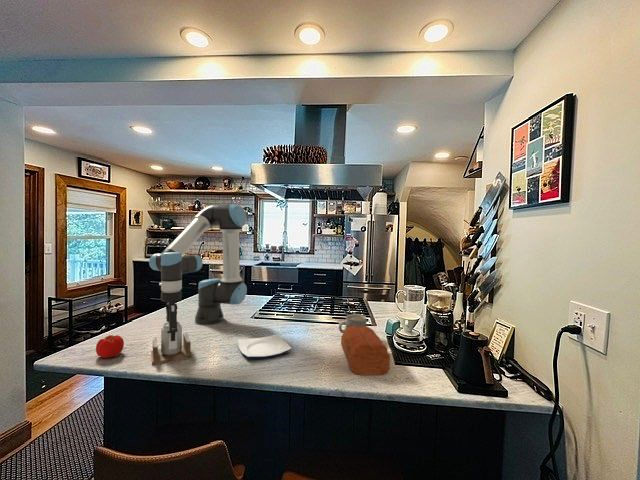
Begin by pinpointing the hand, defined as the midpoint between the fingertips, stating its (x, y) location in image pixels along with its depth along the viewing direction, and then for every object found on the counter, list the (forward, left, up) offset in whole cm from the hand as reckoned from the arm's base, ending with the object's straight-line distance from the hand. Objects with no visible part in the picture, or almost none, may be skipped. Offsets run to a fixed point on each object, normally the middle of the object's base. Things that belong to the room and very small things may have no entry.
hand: (171, 342), depth 120 cm
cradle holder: (0, 0, -5) cm, 5 cm away
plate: (-35, +12, -6) cm, 37 cm away
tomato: (+21, -11, -5) cm, 24 cm away
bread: (-67, +40, -6) cm, 78 cm away
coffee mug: (-78, +18, -5) cm, 80 cm away
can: (0, 0, -4) cm, 4 cm away
